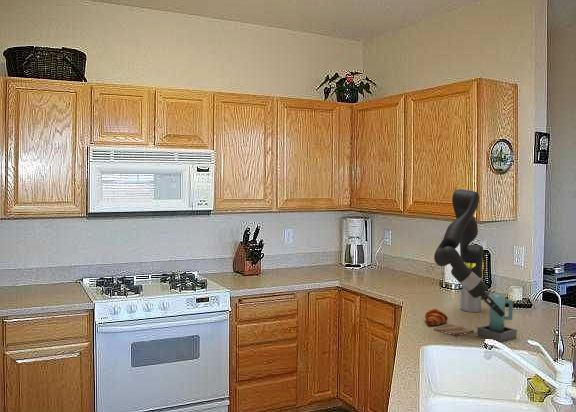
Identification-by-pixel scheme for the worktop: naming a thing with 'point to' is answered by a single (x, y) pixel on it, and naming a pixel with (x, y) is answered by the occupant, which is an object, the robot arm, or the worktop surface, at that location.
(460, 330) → the board
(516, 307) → the worktop surface
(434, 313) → the croissant
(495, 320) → the jug
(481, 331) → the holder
